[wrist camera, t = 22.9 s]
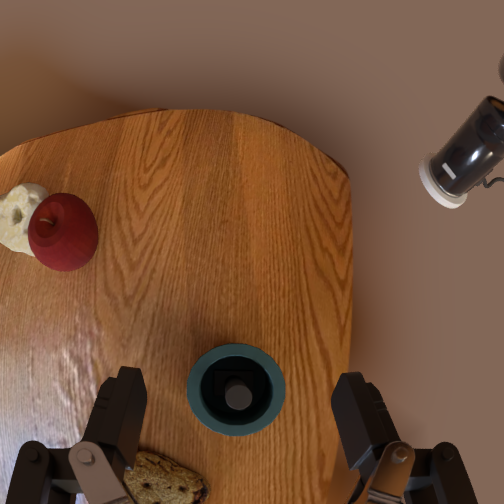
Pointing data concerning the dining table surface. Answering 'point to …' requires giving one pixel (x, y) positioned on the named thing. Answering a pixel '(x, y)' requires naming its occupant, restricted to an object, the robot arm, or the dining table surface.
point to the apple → (63, 232)
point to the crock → (215, 407)
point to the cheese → (19, 215)
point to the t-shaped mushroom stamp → (234, 387)
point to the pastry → (164, 481)
